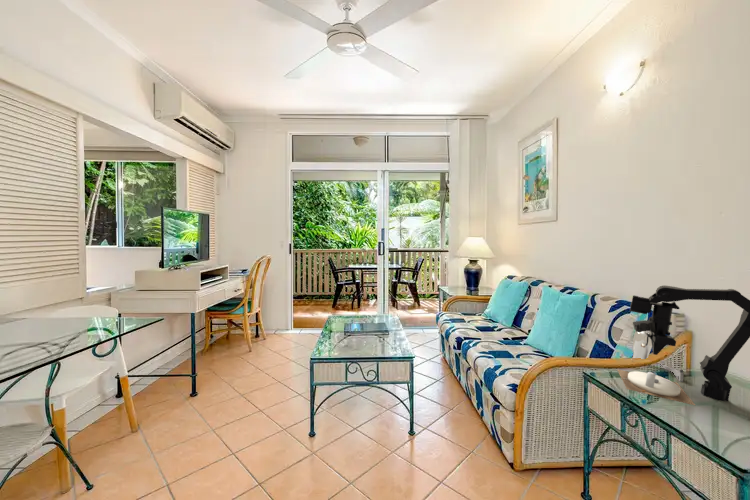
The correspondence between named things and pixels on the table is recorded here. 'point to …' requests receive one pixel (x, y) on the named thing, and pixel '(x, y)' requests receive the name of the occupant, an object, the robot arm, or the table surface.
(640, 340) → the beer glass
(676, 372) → the caliper
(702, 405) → the table surface
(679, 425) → the table surface
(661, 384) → the dial
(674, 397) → the dial base
